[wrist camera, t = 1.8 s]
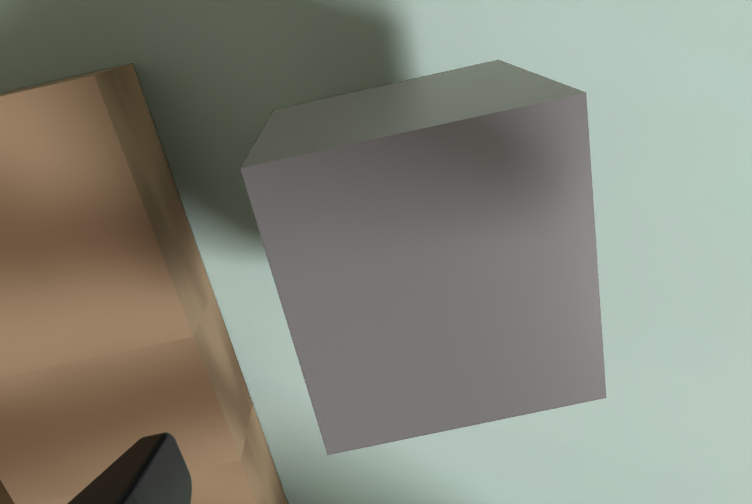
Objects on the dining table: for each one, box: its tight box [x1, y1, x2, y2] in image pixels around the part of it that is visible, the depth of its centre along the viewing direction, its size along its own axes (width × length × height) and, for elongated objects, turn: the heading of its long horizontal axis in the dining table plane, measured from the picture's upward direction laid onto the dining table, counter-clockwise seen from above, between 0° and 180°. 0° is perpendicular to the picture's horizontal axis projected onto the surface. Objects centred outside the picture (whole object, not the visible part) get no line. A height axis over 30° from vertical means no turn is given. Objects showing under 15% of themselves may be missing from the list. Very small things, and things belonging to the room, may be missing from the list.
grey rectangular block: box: [240, 60, 606, 455], centre depth 15 cm, size 6×6×8 cm
